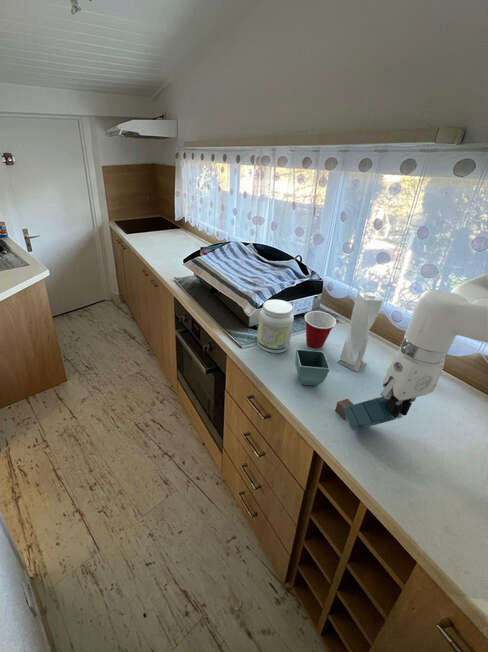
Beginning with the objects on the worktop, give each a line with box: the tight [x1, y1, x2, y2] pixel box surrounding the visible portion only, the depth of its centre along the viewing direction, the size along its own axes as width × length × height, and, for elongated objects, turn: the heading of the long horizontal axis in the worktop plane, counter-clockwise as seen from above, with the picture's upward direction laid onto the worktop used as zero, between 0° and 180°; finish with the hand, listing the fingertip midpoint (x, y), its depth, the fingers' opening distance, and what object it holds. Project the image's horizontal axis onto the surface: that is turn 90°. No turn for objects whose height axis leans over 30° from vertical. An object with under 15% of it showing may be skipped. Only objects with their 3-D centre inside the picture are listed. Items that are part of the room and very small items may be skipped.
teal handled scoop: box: [342, 396, 407, 431], centre depth 76 cm, size 19×12×6 cm
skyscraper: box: [336, 285, 384, 373], centre depth 101 cm, size 8×8×28 cm
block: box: [334, 398, 355, 421], centre depth 86 cm, size 4×4×4 cm
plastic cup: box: [304, 310, 337, 350], centre depth 113 cm, size 11×11×12 cm
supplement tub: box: [256, 299, 295, 354], centre depth 113 cm, size 12×12×17 cm
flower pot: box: [294, 348, 331, 387], centre depth 97 cm, size 9×9×9 cm
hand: (395, 411), depth 72 cm, fingers closed on teal handled scoop
